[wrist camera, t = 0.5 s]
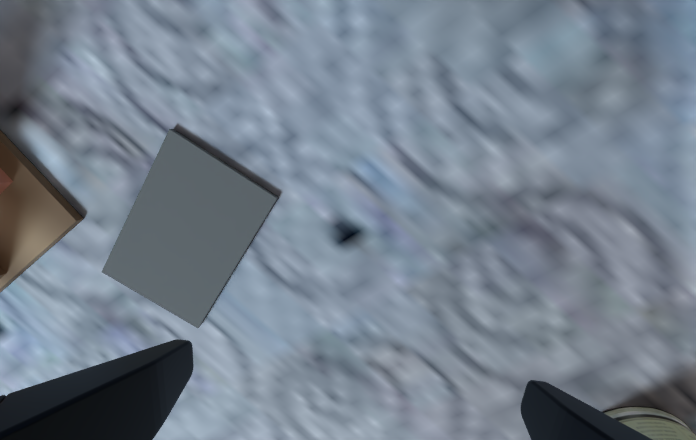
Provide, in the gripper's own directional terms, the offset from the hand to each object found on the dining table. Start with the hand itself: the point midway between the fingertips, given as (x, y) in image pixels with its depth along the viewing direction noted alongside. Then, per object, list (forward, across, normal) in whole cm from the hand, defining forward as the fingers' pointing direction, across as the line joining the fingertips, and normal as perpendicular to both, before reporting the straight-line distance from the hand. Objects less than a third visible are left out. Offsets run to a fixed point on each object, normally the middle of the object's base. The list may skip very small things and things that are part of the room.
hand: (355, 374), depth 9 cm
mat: (+14, -12, -2) cm, 19 cm away
